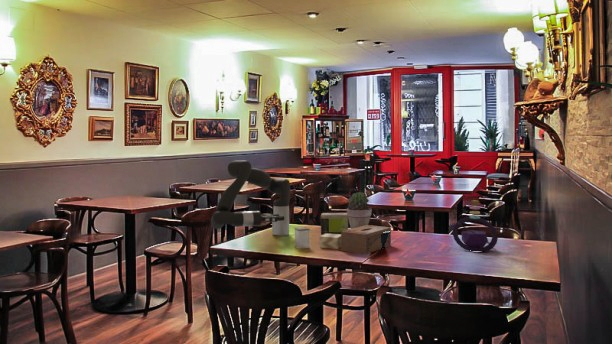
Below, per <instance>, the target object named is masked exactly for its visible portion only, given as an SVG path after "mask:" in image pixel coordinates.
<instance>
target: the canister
mask: <svg viewBox="0 0 612 344" xmlns="http://www.w3.org/2000/svg"><path fill="white" fill-rule="evenodd" d="M293 229H294V247H295V248H297V249H299V250H300V249H309V248H310V230H311V229H310V228H308V227H306V226H301V227H300V226H299V227H294V228H293Z"/></svg>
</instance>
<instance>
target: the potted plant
mask: <svg viewBox="0 0 612 344" xmlns="http://www.w3.org/2000/svg"><path fill="white" fill-rule="evenodd" d="M371 195H372V194H371V191H370V190H368V189H367V190H365V191H364V192H362V191H360V190H359V191H358V192H354V193H352V194H351V196H349V200H348V201H349V203H348V204H347V206H345V207H344V206H343V207H344V209H345V208H346V213H348V224H349V227H350V229H353V228H357V227H361V226H365V225H369V223H370V218H371V216H372V212H373V209H372V208H370V207H369V206H371V207H372V205H370V204H369V203H368V202H370V197H371Z"/></svg>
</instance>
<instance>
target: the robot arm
mask: <svg viewBox="0 0 612 344" xmlns="http://www.w3.org/2000/svg"><path fill="white" fill-rule="evenodd" d="M227 171H228V174H229V176H231V177H232V178H234V179H235V180H234V181H233V182H232V183H231V184H230V185H229V186H228V187H227V188H226V189H225V190H224V191H223V192H222V193H221V196H220V198H219V200H218V203H217V206H216V208H215V211H214V213H213V214H212V216H211V219H210V225H211V227H212V228H213V229H216V230H219V229H221V228H223V227H224V226H225V225H231V226H232V227H257V226H262V222H264V223H271V225H272V226H271V228H272V230H271V231H272V233H271V234H272V235H273V236H280V237H281V236H282V237H283V236H288V235H290V200H291V182H290V180H289V179H287V178H275V177H274V178H272V177H271V176H270V173H268V171H265V170H263V169H260V168H256V167H255V168H254V167H252V164H251V162H250V161H249V160H244V159H239V160H238V159H237V160H236V159H235V160H233V161H230V162H229V164H228V165H227ZM246 182H248V183H249V184H252V185H254V186H256V187H259V188H261V189H266V190H267V191H269V192H271V193H272V194H275V195H280V198H278V199H275V200H274V201H273V214H272V213H269V212H268V213H261V211H260V210H245V211H237V212H236V211H235V212H233V211H231V209H232V208H233V205H234V203H235V201H236V198H237V196H238V194H239V193H240V191H241V189H242V188H243V186H244V185H245V183H246Z"/></svg>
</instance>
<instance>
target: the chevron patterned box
mask: <svg viewBox="0 0 612 344" xmlns="http://www.w3.org/2000/svg"><path fill="white" fill-rule="evenodd" d="M319 248H320V249H321V248H323V249H337V250H338V249H339V248H340V249H341V234H328V233H326V234H324V235H322V236H321V235H319Z"/></svg>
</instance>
